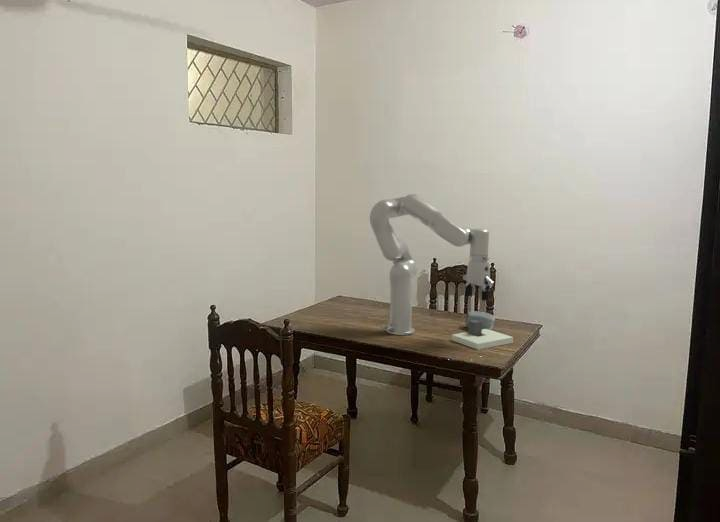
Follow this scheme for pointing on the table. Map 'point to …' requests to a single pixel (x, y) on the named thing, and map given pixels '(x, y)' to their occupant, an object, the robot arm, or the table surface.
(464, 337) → the board
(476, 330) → the gray rectangular block
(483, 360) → the table surface
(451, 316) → the table surface
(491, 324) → the streaked blue-grey ovoid
